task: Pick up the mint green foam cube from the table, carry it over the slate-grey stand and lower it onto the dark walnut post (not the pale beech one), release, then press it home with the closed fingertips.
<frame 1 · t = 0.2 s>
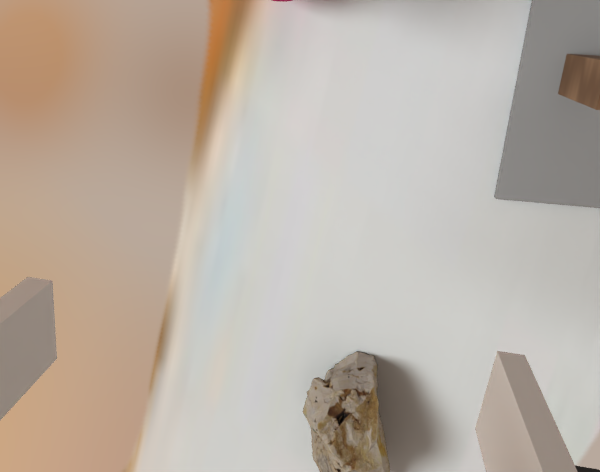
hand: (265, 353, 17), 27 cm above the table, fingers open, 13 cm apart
rock: (348, 410, 51), on the table
post walnut: (582, 75, 38), resting on stand
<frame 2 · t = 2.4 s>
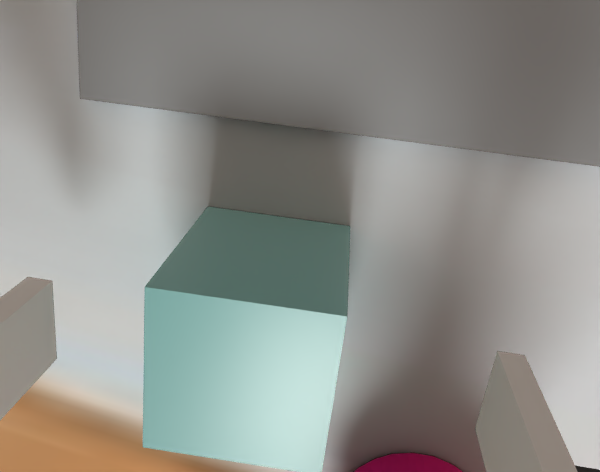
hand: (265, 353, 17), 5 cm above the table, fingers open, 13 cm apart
mint green foam cube: (271, 280, 21), on the table
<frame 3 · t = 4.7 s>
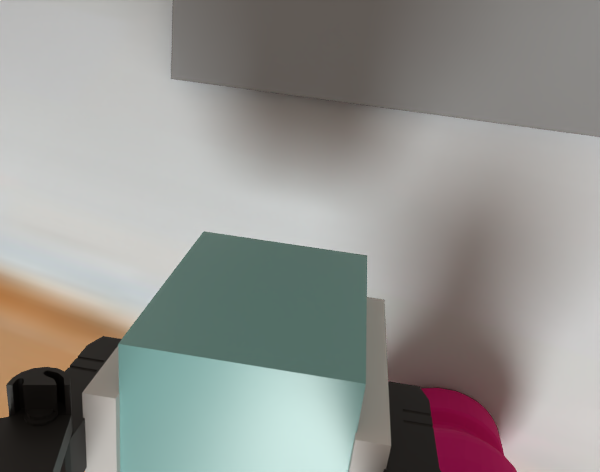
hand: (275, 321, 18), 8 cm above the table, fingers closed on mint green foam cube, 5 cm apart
mint green foam cube: (276, 315, 19), point 7 cm above the table, touching gripper
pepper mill: (433, 434, 29), on the table
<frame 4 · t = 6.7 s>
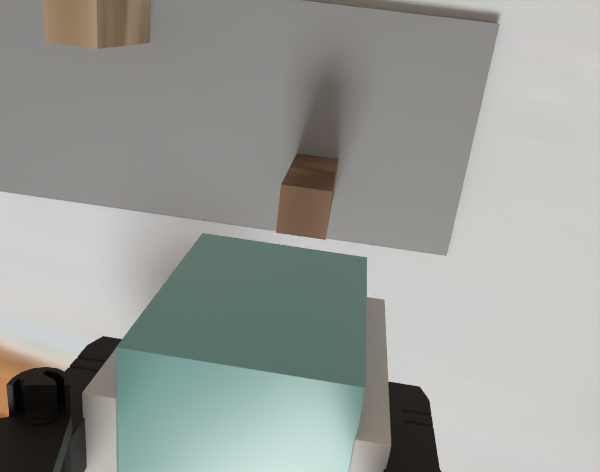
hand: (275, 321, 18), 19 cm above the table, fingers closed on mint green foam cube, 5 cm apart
post beech: (128, 16, 33), resting on stand
mint green foam cube: (276, 317, 19), point 19 cm above the table, touching gripper
post walnut: (314, 176, 35), resting on stand
stand: (225, 114, 35), on the table
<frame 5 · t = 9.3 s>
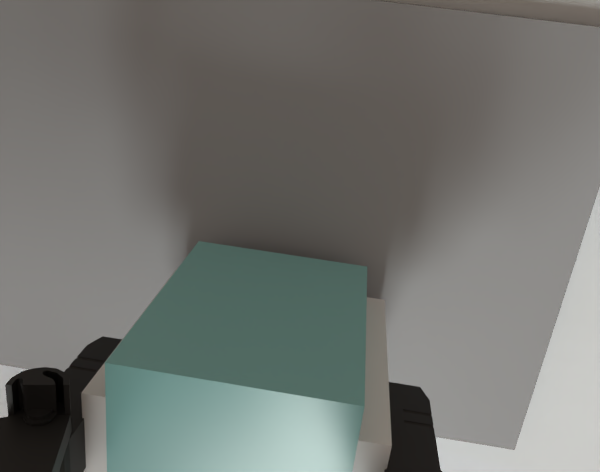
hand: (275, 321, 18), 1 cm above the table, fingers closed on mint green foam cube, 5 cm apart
mint green foam cube: (274, 327, 18), point 2 cm above the table, touching gripper, post walnut
stand: (109, 198, 19), on the table
when the fingers open (1 cm above the table, at t = 9.5 s): mint green foam cube stays where it is, resting on post walnut.
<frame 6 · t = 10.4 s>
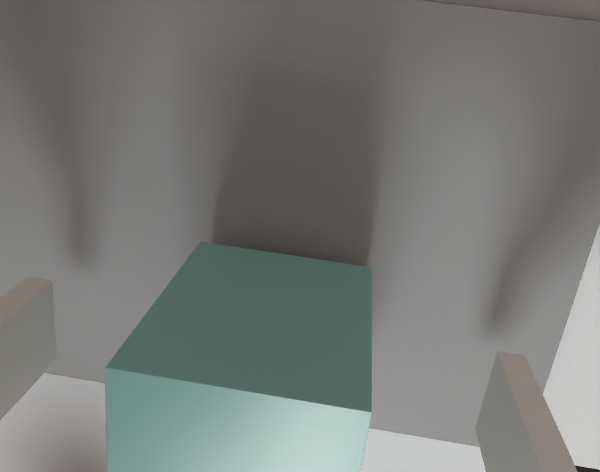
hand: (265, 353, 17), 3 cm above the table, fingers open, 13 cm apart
mint green foam cube: (276, 329, 18), point 2 cm above the table, touching post walnut
stand: (111, 197, 19), on the table
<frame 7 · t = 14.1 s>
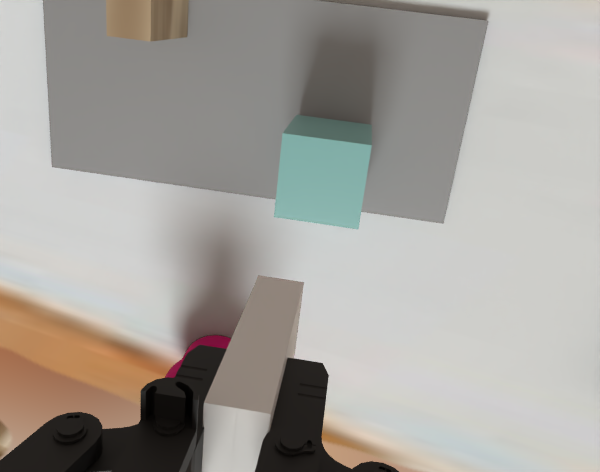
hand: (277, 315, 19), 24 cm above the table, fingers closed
post beech: (169, 14, 38), resting on stand
mint green foam cube: (329, 156, 40), point 2 cm above the table, touching post walnut
stand: (251, 99, 40), on the table
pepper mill: (220, 364, 49), on the table
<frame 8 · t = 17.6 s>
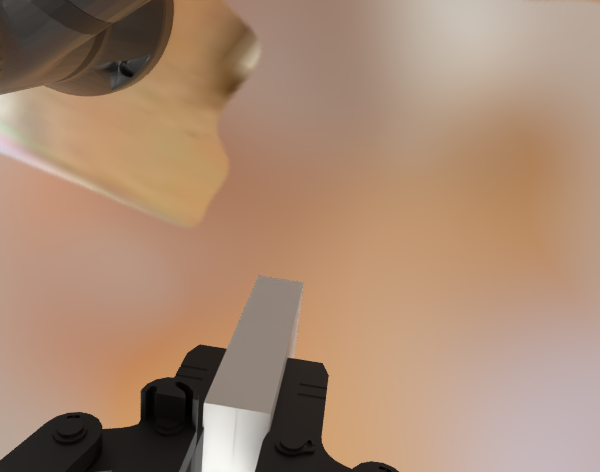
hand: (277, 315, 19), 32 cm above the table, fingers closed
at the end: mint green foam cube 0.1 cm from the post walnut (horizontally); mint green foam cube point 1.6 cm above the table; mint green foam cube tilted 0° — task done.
